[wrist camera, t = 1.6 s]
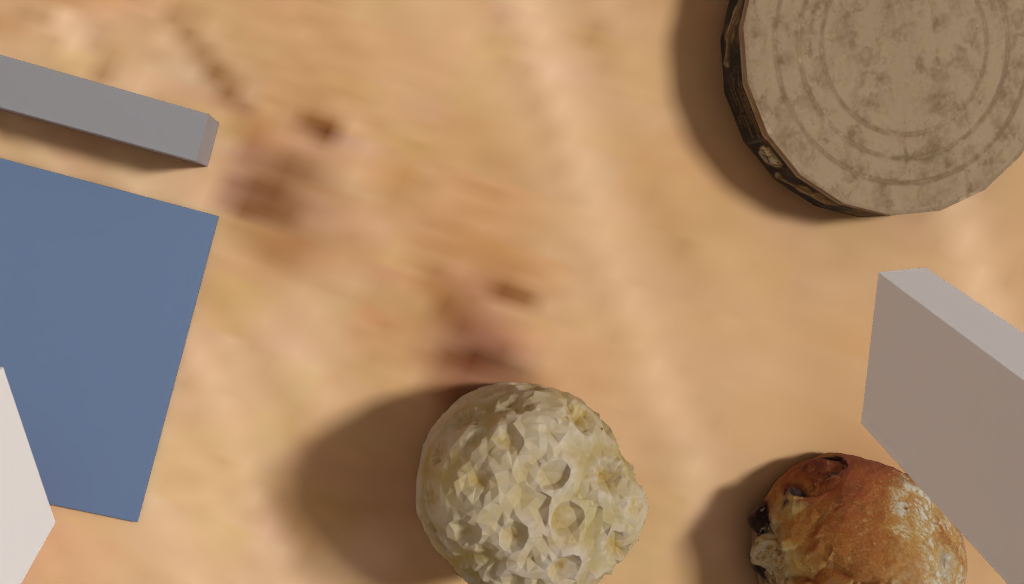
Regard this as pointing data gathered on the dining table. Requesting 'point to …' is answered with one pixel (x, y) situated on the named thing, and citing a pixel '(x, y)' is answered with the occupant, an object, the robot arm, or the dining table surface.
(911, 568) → the bread roll
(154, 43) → the dining table surface
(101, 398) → the blue flat square slab
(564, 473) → the coral
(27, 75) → the wall
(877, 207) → the round stone disc
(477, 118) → the dining table surface
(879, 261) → the dining table surface
